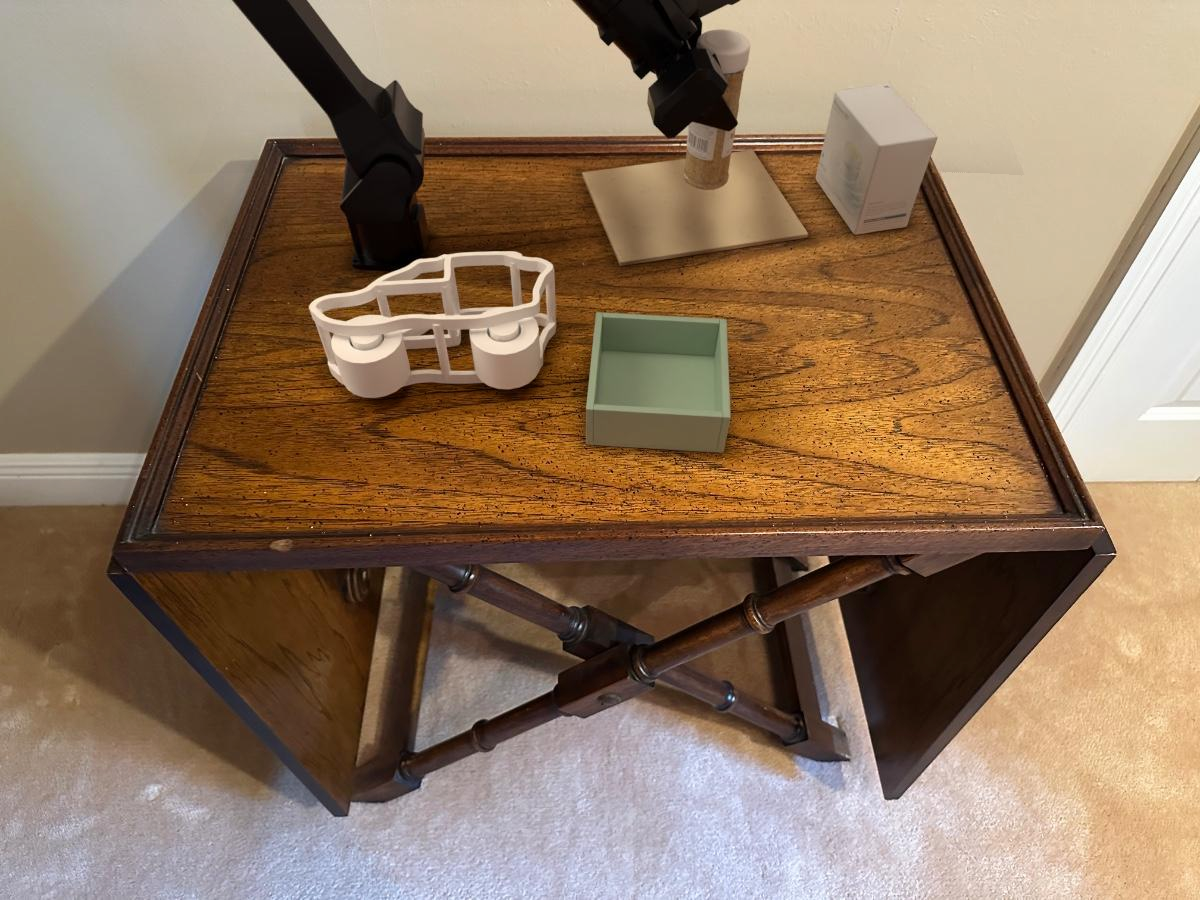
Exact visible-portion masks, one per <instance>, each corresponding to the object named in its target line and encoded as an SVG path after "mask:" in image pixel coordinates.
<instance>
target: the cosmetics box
mask: <svg viewBox="0 0 1200 900" xmlns="http://www.w3.org/2000/svg"><path fill="white" fill-rule="evenodd" d="M829 112H830V114H829V117H828V121H827V127H826V130H825V135H824V139H823V143H822V148H821V151H820V152H821V153H820V157H819V161H818V165H817V170H816V175H815V177H814V178H815V181H816V182H817V184H818V185H819V187H820V188H821V190H822V191H823V193H824V194H825V195H826V197H827V198H828V200H829V201H830V203H831V204H832V205H833V207H834V208H835V210H836V211H837V213H838V214H839V216H840V217H841V218H842V220H843V221H844V223H845V224H846V225H847V227H848V229H849V230H850V231H851V233H852V234H853V235H854V236H856V235H863V234H864V235H865V234H869V233H875V232H883V231H888V230H896V229H903V228H906V227H908V225H909V222H910V218H911V215H912V212H913V208H914V206H915V202H916V199H917V197H918V195H919V191H920V188H921V185H922V182H923V179H924V176H925V174H926V171H927V169H928V165H929V163H930V160H931V158H932V154H933V151H934V150H935V146H936V145H937V141H938V135H937V134H936V133H935V132H934V131H933V130H932V129H931V128H930V127H929V125H928V124H926V122H925V121H924V119H922V117H920V116H919V115H918V113H917V112H916V111H915V110H914V109H913V107H911V106H910V104H909V103H908V102H907V101H906V100H905V99H904V97H902V95H900V93H899V92H898V91H897V90H896V89H895V87H893V86H892V84H891V83H890V82H885V83H880V84H879V83H878V84H872V85H866V86H865V85H864V86H858V87H853V88H845V89H839V90H834V93H833V99H832V103H831V108H830V111H829Z"/></svg>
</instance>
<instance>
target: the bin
mask: <svg viewBox="0 0 1200 900" xmlns="http://www.w3.org/2000/svg"><path fill="white" fill-rule="evenodd" d="M727 320H728V319H726V318H715V317H714V318H711V317H695V316H694V317H693V316H692V317H691V316H675V315H674V316H673V315H656V314H640V313H639V314H637V313H621V312H603V311H602V312H601V311H596V312H595V320H594V328H593V336H592V337H593V338H592V346H591V347H592V349H591V355H590V356H591V358H590V365H589V366H590V367H589V378H588V385H587V386H588V387H587V396H586V406H585V445H586V446H601V447H603V446H604V447H620V448H635V449H651V450H671V451H683V452H685V451H687V452H701V453H702V452H703V453H719V454H720V453H721V454H724V453H725V448H726V443H727V437H728V433H729V427H730V424H731V419H732V413H731V411H732V410H731V391H730V390H731V389H730V365H729V341H728V340H729V339H728V321H727Z"/></svg>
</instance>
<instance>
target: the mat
mask: <svg viewBox="0 0 1200 900" xmlns="http://www.w3.org/2000/svg"><path fill="white" fill-rule="evenodd" d="M685 161H686V158H680V159H673V160H665V161H657V162H650V163H643V164H636V165H626V166H621V167H620V166H619V167H612V168H605V169H597V170H590V171H589V170H588V171H583V172H582V173H581V177H582V179H583V182H584V185H585V186H586V188H587V189H586V190H587V191H588V193H589V196H590V198H591V200H592V203H593V205H594V208H595V210H596V212H597V215H598V217H599V220H600V222H601V225H602V227H603V229H604V231H605V234H606V237H607V239H608V242H609V244H610V247H611V249H612V252H613V253H614V256H615V259H616V260H617V264H618V266H619V267H625V266H630V265H636V264H637V265H638V264H644V263H651V262H657V261H658V262H659V261H664V260H670V259H678V258H684V257H690V256H696V255H704V254H710V253H717V252H722V251H728V250H729V251H730V250H735V249H736V250H737V249H742V248H749V247H756V246H762V245H769V244H775V243H781V242H788V241H794V240H795V241H796V240H801V239H807V238H808V237H809V232H808V231H807V229H806V228H805V227H804V225H803V224H802V222H801V220H800V218H799V217H798V216H797V214H796V213H795V212H794V210H793V208H792V207H791V205H790V204H789V202H788V201H787V199H786V198H785V196H784V195H783V192H781V191H780V188H779V187H778V186H777V184H776V182H775V181H774V180H773V178H772V176H771V175H770V173H769V172H768V170H767V169H766V168H765V166H764V165H763V163H762V162H761V160H760V159H759V156H757V154H756V152H755V151H754V150H753V149H748V150H741V151H734V152H733V151H732V152H731V158H730V164H729V171H728V173H729V178H728V181H727V183H726V184H725V185H724V186H722V187H720V188H718V189H714V190H701V189H697V188H695V187H693V186H691V185H689V184H688V183H687V182H686V181H685V180H684V178H683V170H684V168H685Z"/></svg>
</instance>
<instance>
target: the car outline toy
mask: <svg viewBox="0 0 1200 900" xmlns="http://www.w3.org/2000/svg"><path fill="white" fill-rule="evenodd" d="M476 266H477V267H478V266H482V267H483V266H504V267H509V270H510V271H509V273H510V284H511V294H512V303H513V306H494V307H472V308H470V307H469V308H461V305H460V304H461V303H460V298H459V292H458V285H457V279H456V273H455V269H456V268H462V267H476ZM520 270H521V271H526V272H537V273H539V275H538V277H537V279H536V282H535V283H534V286H533V289H532V301H530V302H528V303H527V302H526V303H523V295H522V282H521V271H520ZM441 271H443V277H442V278H422V279H421V278H420V279H416V278H417V277H419V276H420V275H422V274H427V273H436V272H441ZM555 276H556V275H555V268H554V264H553V263H552V262H550V261H549V260H547V259H544V258H541V257H531V256H524V255H523V254H522V253H520V252H518V251H513V250H512V251H508V250H507V251H505V250H503V251H498V250H497V251H495V250H494V251H467V252H455V253H449V254H446V253H443V254H442V255H439V256H436V257H428V258H420V259H418V260H416V261H414V262H412V263H411V264H409V265H408V266H406V267H404V268H402V269H399V270H393V271H391V272H389V273H386V274H383V275H382V276H380V277H377V279H375V280H373V281H372V282H371V283H370V284H368V285H367V286H366V287H363V288H362V289H359V290H355V291H349V292H340V293H331V294H330V293H329V294H326V295H323V296H320V297H318V298H315V299H314V300H313V301H312V302H311V303H310V304H309V305H308V310H309V312H310V315H311V318H312V320H313V321H314V323H315V326H316V330H317V332H318V336H319V338H320V341H321V345H322V346H323V350H324V353H325V356H326V358H327V366H328V369H329V371H330V374H331V375H332V377H334V378H335V379H336V380H337V382H339V383H340V384H341V385H343V386H344V387H345V388H346V390H348V391H349V392H350V393H351V394H353V395H355V396H358V397H362V398H369V399H377V398H383V397H387V396H389V395H392V394H394V393H396V392H397V391H398V390H400V389H402V388H403V387H407V386H410V385H415V384H422V383H425V384H426V383H435V384H452V385H453V384H454V385H455V384H457V385H459V384H460V385H465V384H469V385H470V384H485V385H486V386H488V387H490V388H495V389H497V390H512V389H513V390H514V389H518V388H521V387H524V386H525V385H528V384H530V383H531V382H532V381H533V380H534V379H536V377H537V376H538V374H539V372H540V370H541V368H542V367H543V366H544V354H545V353H544V352H545V350H546V348H547V345H548V343H549V341H550V340H551V339H552V338H553V337H554V335H556V333H557V332H556V331H557V330H556V329H557V307H556V306H557V305H556V303H557V302H556V277H555ZM544 292H545V299H546V300H545V301H546V302H545V303H546V314H545V313H541V312H540V311H541V299H542V296H543V294H544ZM438 293H440V295H441V301H442V308H443V312H444V313H436V314H426V313H425V314H424V313H410V314H409V313H408V314H401V315H395V316H392V313H391V309H390V306H389V301H388V298H387V296H400V295H401V296H402V295H417V294H418V295H420V294H438ZM374 300H376V301H377V304H378V308H379V312H380V314H364V315H359V316H356V317H353V318H350V319H349V320H346V321H345V320H340V319H335V318H331V317H329V316H326V315H325V314H324V312H326V311H330V310H335V309H339V308H340V309H341V308H350V307H357V306H362V305H365V304H367V303H370V302H372V301H374ZM539 327H542V328H543V329H542V330H541V332H540V328H539ZM430 330H432V331H433V334H427V335H426V333H427V332H428V331H430ZM444 330H446V331H447V333H446V334H445V331H444ZM462 330H468V331H469V332H468V334H469V340H470V346H471V353H472V360H473V367H474V370H451V364H450V359H449V354H448V349H447V348H451V347H452V348H453V347H458V346H460V345H461V342H462ZM331 334H333V335H332V337H331ZM424 334H425V335H424ZM433 348H434V349H435V348H436V352H437V357H438V363H439V368H440V369H417V370H411V366H410V361H409V357H408V353H407V350H417V349H418V350H421V349H433Z"/></svg>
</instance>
